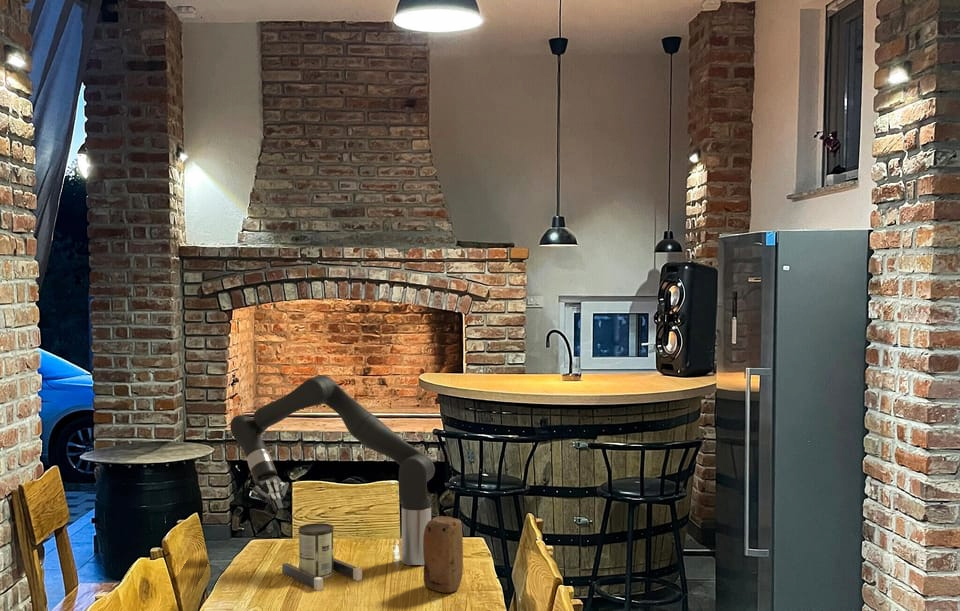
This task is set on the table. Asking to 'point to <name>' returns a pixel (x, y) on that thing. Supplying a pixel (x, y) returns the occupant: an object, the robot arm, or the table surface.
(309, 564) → the coffee can
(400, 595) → the table surface
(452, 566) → the block
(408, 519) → the robot arm
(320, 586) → the grey parallel rails
